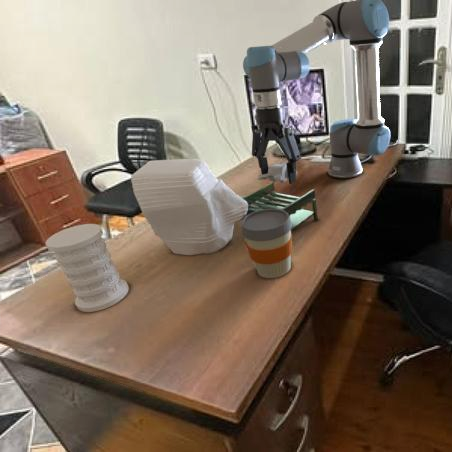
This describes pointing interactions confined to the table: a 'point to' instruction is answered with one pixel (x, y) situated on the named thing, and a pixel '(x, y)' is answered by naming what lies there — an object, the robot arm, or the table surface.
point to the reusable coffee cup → (269, 241)
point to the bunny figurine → (276, 173)
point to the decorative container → (88, 267)
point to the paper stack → (187, 205)
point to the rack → (292, 208)
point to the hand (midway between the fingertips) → (279, 180)
